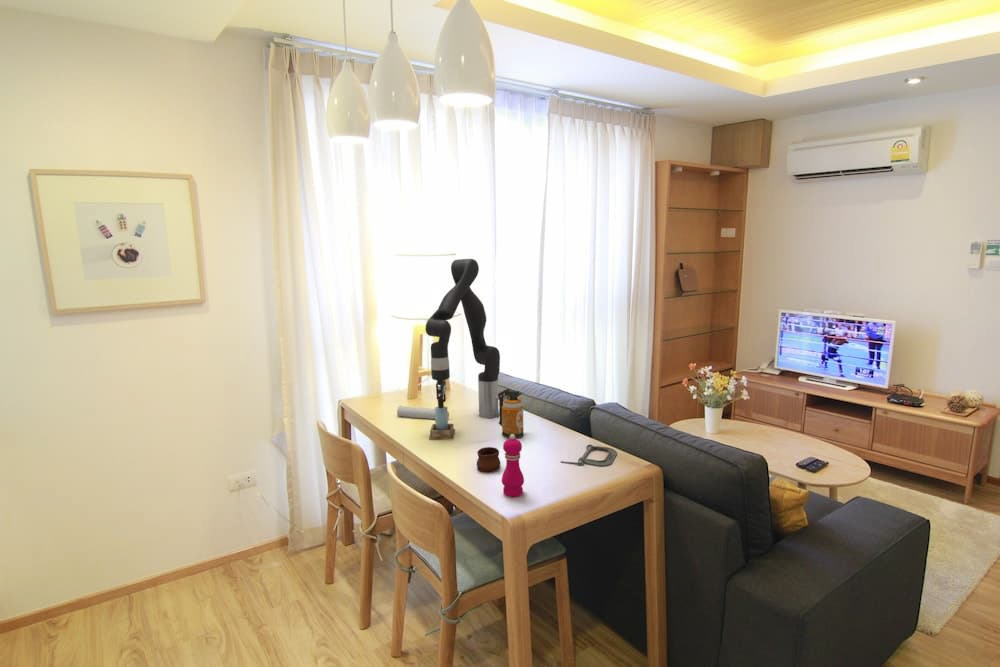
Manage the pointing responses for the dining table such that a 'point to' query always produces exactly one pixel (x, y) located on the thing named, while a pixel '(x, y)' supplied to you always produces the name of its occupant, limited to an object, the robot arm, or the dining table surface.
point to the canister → (511, 413)
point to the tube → (416, 412)
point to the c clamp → (601, 463)
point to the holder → (442, 433)
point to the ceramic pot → (488, 459)
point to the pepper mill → (512, 468)
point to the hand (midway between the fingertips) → (442, 404)
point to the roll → (441, 418)
